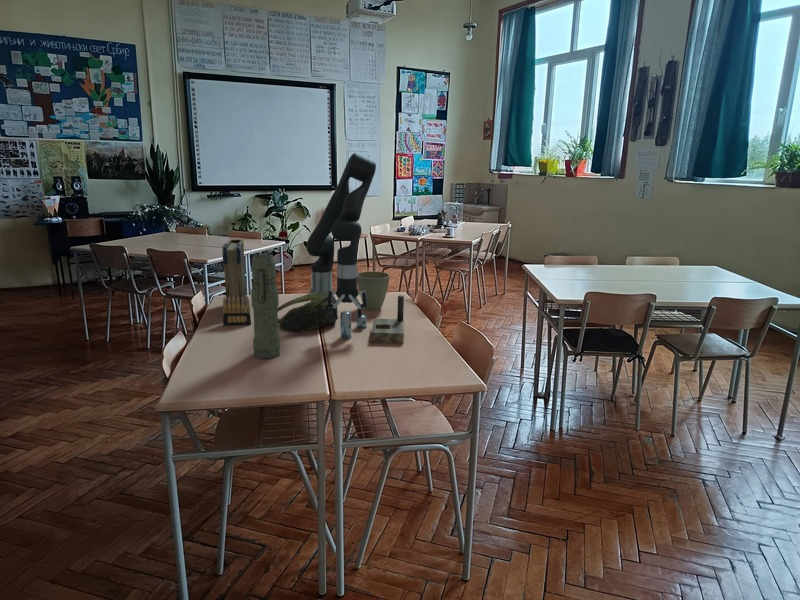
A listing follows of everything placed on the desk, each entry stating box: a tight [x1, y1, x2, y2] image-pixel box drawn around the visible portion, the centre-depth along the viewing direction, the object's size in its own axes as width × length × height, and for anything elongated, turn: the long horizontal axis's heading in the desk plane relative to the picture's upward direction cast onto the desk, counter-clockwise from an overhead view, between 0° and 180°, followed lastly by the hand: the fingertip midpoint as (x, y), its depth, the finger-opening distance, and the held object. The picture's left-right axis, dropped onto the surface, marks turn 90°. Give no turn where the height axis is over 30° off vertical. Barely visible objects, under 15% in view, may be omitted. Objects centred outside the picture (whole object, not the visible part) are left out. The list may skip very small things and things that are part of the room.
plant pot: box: [357, 270, 391, 311], centre depth 238 cm, size 15×15×16 cm
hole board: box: [370, 294, 405, 345], centre depth 203 cm, size 12×18×14 cm, turn 0°
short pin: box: [356, 313, 368, 330], centre depth 212 cm, size 4×4×5 cm
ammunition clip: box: [222, 295, 252, 327], centre depth 210 cm, size 11×2×12 cm, turn 99°
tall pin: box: [340, 310, 352, 340], centre depth 199 cm, size 4×4×10 cm
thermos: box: [250, 252, 281, 360], centre depth 177 cm, size 9×12×35 cm
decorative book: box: [221, 239, 247, 312], centre depth 229 cm, size 23×7×30 cm, turn 12°
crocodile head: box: [277, 292, 339, 333], centre depth 210 cm, size 27×17×15 cm
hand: (347, 317), depth 198 cm, fingers open, 8 cm apart
